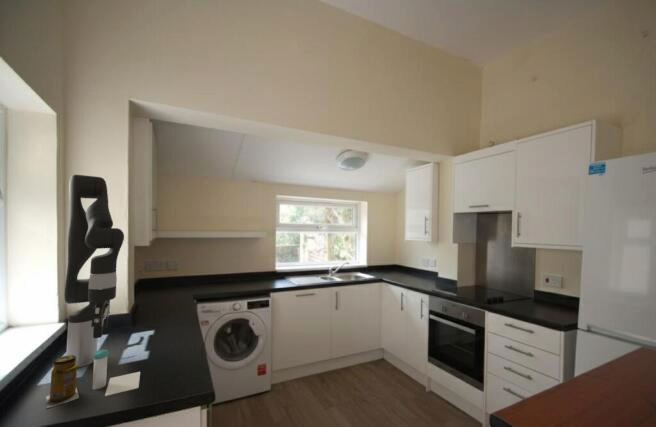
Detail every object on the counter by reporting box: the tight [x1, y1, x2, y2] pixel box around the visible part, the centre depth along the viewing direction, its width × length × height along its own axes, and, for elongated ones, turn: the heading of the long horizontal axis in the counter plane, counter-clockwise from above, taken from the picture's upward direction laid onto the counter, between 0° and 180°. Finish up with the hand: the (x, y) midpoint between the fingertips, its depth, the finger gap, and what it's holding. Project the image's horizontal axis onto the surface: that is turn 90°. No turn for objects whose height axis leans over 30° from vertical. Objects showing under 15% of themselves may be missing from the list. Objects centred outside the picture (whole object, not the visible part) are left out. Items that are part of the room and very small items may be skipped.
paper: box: [104, 371, 141, 397], centre depth 96 cm, size 12×9×1 cm
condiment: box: [45, 355, 80, 409], centre depth 88 cm, size 7×8×12 cm
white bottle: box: [92, 349, 109, 390], centre depth 95 cm, size 4×4×12 cm
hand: (100, 333), depth 95 cm, fingers open, 8 cm apart
